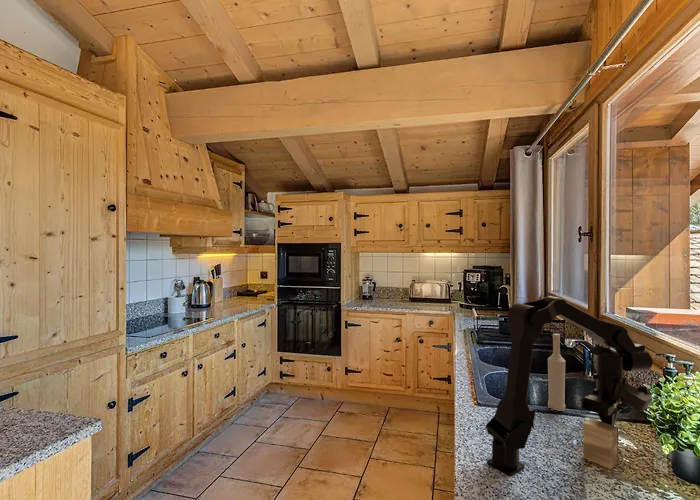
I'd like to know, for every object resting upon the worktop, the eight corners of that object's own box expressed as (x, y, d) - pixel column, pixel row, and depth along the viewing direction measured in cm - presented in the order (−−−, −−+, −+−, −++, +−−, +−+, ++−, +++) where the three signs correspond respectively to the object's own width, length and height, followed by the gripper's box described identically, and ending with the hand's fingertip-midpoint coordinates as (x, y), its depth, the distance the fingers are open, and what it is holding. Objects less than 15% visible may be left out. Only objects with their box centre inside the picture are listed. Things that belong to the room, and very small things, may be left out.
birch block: (610, 469, 90) (610, 432, 90) (583, 457, 95) (583, 422, 95) (618, 463, 92) (618, 427, 92) (591, 452, 97) (591, 418, 97)
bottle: (544, 406, 125) (544, 333, 125) (555, 404, 127) (555, 332, 127) (557, 413, 121) (557, 336, 121) (569, 410, 122) (569, 335, 122)
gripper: (631, 388, 85) (631, 456, 85) (661, 374, 95) (660, 434, 95) (579, 374, 94) (579, 436, 94) (611, 362, 104) (611, 418, 104)
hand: (609, 431), depth 97 cm, fingers closed
